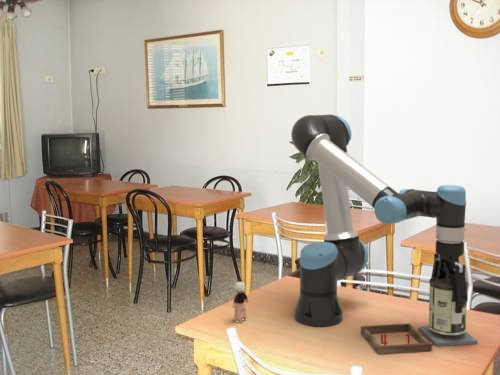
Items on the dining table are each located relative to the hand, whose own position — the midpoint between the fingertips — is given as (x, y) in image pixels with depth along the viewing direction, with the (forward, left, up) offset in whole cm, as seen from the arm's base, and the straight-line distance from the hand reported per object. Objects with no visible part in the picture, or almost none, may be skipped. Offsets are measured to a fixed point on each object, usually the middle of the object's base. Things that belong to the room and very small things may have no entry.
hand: (447, 316), depth 155 cm
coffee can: (0, 0, -4) cm, 4 cm away
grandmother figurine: (-21, -58, -6) cm, 62 cm away
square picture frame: (+1, -16, -6) cm, 17 cm away
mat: (0, 0, -6) cm, 6 cm away
